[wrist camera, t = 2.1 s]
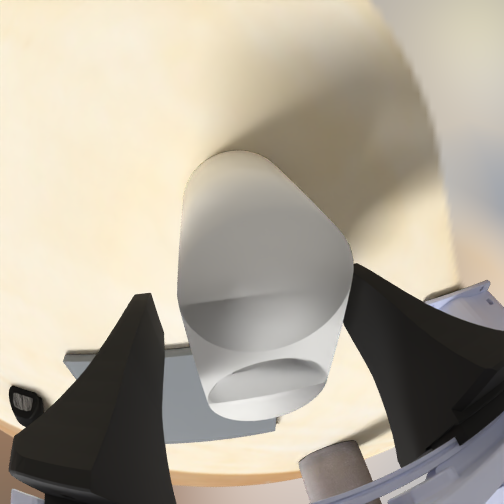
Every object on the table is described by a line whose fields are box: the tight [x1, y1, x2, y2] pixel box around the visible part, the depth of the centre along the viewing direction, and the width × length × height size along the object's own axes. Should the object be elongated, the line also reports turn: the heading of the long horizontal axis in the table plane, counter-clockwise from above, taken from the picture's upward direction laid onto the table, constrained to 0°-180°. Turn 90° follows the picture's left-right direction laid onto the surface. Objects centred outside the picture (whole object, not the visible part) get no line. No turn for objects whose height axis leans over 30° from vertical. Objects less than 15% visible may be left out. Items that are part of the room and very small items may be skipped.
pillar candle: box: [299, 441, 382, 504], centre depth 29 cm, size 10×10×15 cm
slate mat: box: [63, 347, 276, 444], centre depth 19 cm, size 14×14×1 cm
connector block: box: [177, 150, 354, 421], centre depth 11 cm, size 4×11×6 cm, turn 2°
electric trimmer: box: [9, 386, 44, 427], centre depth 19 cm, size 4×16×3 cm, turn 166°
